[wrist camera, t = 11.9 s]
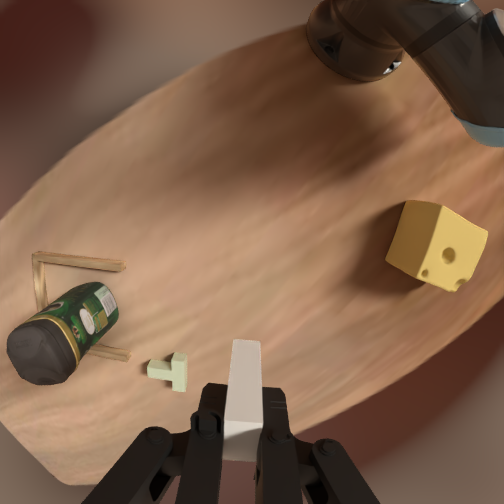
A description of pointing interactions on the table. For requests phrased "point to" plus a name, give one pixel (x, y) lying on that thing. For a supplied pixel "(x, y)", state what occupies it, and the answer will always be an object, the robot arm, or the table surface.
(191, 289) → the table surface
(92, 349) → the oak frame
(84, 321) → the coffee jar
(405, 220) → the cheese
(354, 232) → the table surface
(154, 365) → the sage T block
